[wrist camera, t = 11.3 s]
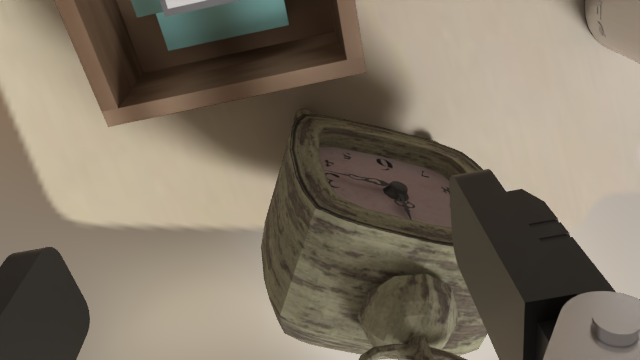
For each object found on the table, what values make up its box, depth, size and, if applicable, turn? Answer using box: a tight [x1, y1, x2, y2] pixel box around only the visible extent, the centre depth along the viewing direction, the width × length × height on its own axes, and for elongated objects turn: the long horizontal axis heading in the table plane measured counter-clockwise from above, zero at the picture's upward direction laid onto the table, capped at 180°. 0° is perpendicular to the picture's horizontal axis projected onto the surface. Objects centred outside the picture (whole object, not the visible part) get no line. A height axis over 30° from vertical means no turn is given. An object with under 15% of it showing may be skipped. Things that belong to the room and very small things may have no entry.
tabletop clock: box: [261, 110, 487, 360], centre depth 33 cm, size 14×9×25 cm, turn 74°
